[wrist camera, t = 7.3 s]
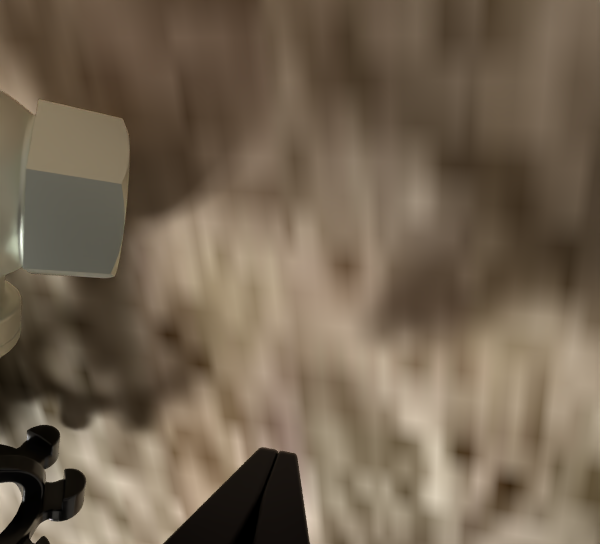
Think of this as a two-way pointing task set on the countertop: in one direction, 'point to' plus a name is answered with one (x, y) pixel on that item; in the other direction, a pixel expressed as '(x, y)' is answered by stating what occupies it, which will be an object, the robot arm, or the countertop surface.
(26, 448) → the valve
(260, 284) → the countertop surface
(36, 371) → the countertop surface
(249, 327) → the countertop surface
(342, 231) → the countertop surface
